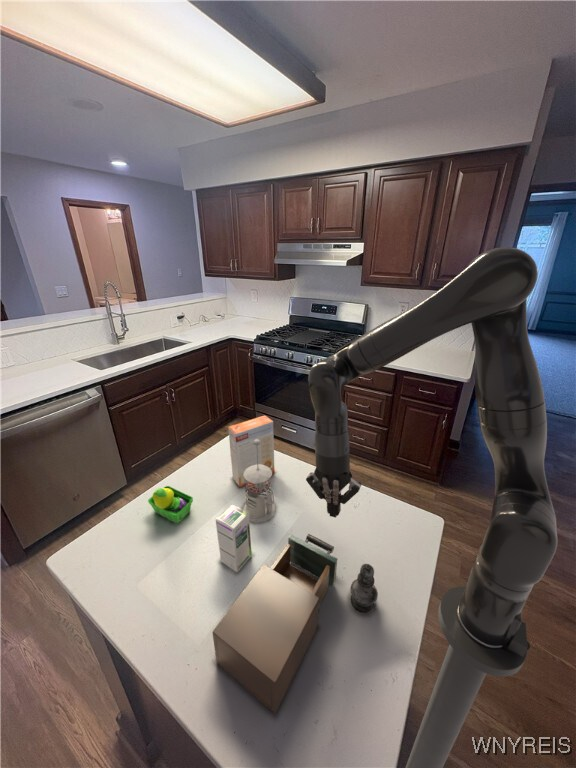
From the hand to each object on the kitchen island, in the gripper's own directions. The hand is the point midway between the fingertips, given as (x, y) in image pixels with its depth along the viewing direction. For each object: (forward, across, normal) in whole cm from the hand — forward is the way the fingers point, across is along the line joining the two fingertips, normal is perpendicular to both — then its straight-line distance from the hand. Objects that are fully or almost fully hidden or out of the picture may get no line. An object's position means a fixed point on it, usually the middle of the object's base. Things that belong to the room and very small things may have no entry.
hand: (333, 514), depth 73 cm
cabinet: (+17, +7, +21) cm, 28 cm away
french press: (+12, +26, -8) cm, 30 cm away
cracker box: (+10, +36, -21) cm, 43 cm away
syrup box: (+14, +24, +8) cm, 29 cm away
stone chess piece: (+17, -8, +5) cm, 20 cm away
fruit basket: (+10, +49, +4) cm, 51 cm away
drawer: (+15, +5, +8) cm, 18 cm away
